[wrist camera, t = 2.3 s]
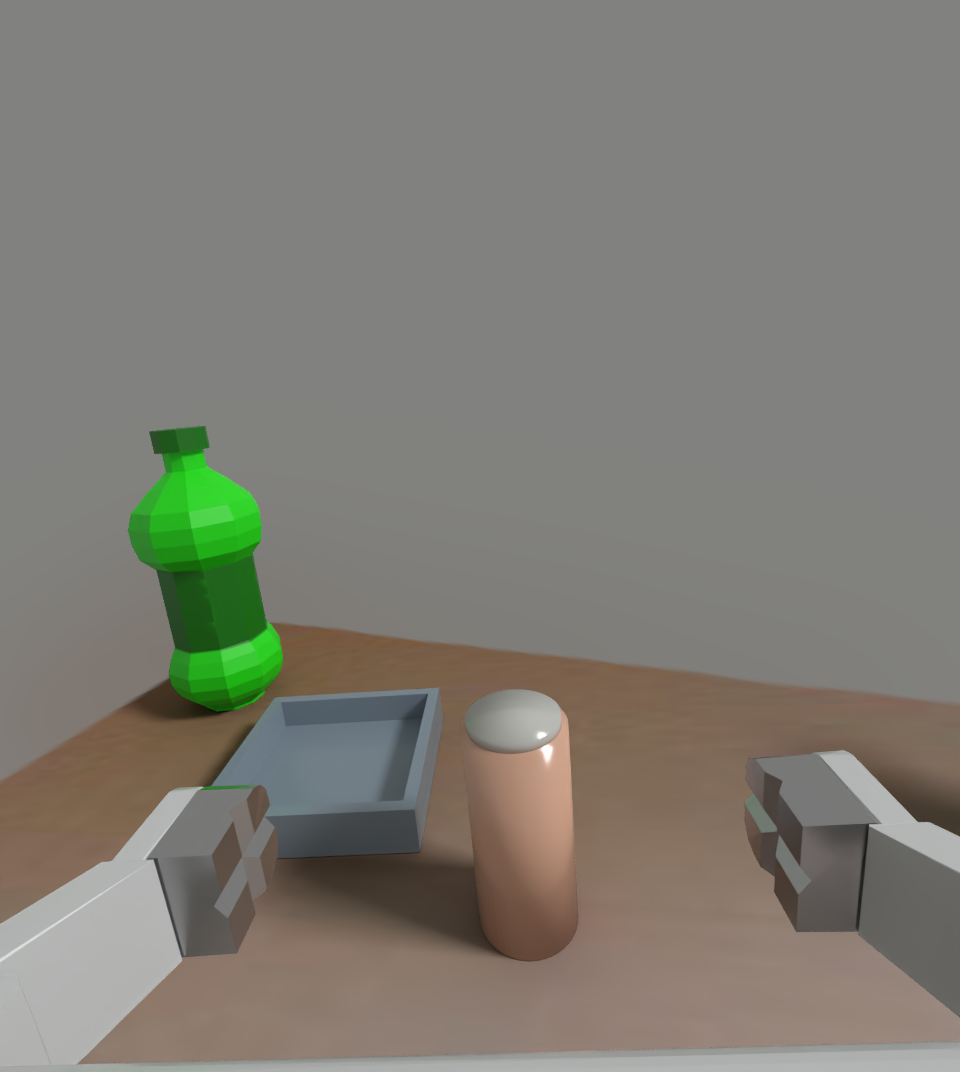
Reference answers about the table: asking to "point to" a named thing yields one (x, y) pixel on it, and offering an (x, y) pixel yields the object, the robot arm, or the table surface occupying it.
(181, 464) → the plastic bottle
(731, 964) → the table surface
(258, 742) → the shallow grey tray
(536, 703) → the pink cylindrical can
